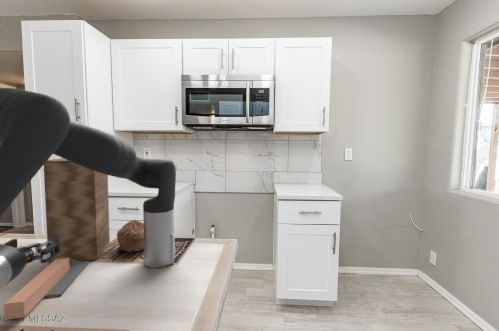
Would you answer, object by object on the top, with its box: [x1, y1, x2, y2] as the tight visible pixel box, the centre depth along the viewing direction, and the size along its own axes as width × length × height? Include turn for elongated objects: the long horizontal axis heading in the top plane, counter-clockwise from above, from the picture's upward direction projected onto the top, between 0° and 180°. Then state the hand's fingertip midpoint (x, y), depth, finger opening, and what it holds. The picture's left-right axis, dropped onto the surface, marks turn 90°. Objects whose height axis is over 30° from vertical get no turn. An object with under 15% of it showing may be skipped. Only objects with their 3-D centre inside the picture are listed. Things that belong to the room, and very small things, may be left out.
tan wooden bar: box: [3, 258, 70, 320], centre depth 66 cm, size 4×22×4 cm, turn 14°
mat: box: [42, 261, 89, 299], centre depth 73 cm, size 6×18×1 cm, turn 13°
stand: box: [43, 157, 111, 264], centre depth 89 cm, size 15×15×32 cm
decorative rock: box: [116, 219, 144, 254], centre depth 94 cm, size 13×11×10 cm
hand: (36, 241), depth 63 cm, fingers open, 8 cm apart
